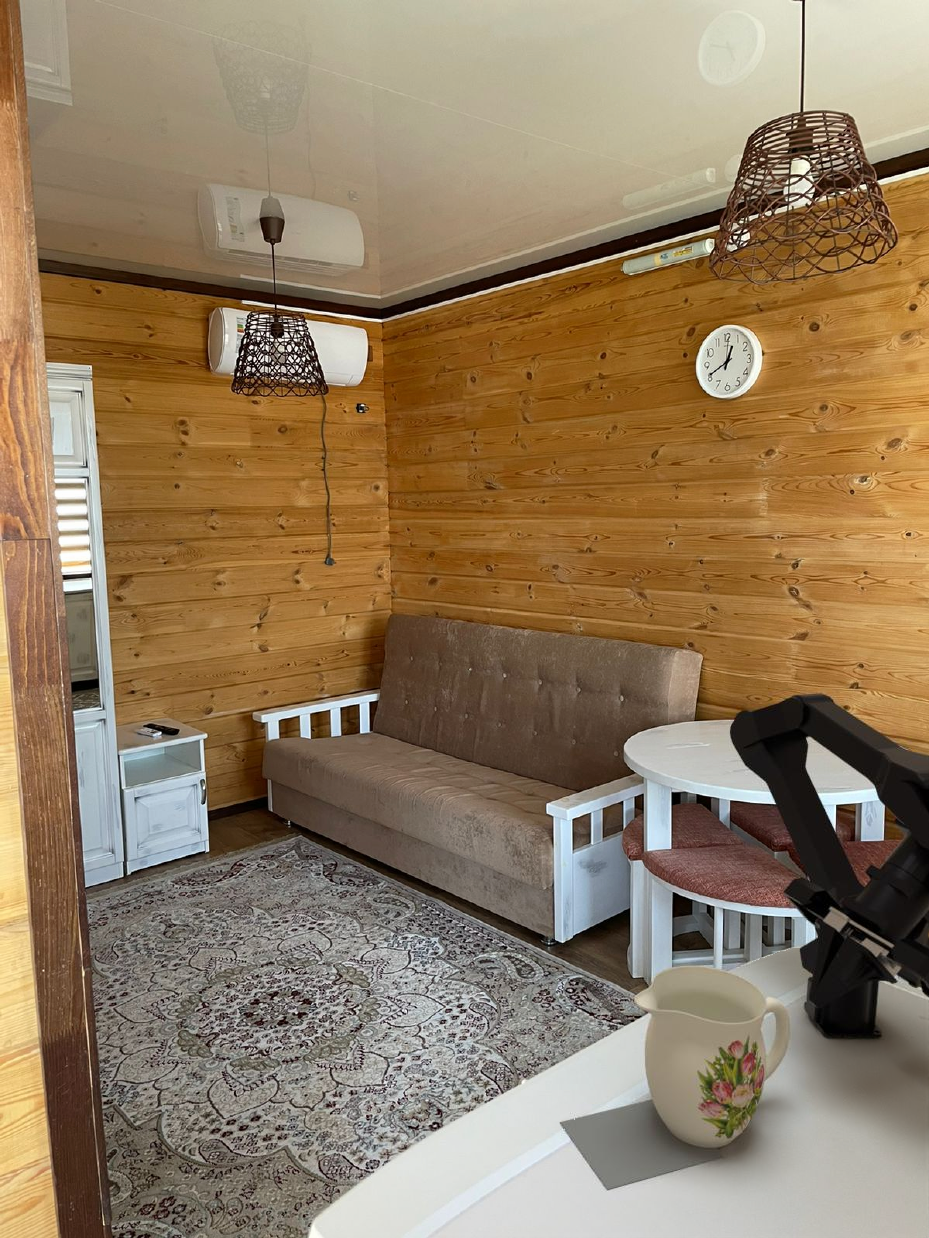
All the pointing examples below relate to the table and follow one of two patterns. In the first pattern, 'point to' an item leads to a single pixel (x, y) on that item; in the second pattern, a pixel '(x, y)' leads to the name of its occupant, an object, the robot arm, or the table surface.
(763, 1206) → the table surface
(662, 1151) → the slate pad
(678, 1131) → the pitcher
